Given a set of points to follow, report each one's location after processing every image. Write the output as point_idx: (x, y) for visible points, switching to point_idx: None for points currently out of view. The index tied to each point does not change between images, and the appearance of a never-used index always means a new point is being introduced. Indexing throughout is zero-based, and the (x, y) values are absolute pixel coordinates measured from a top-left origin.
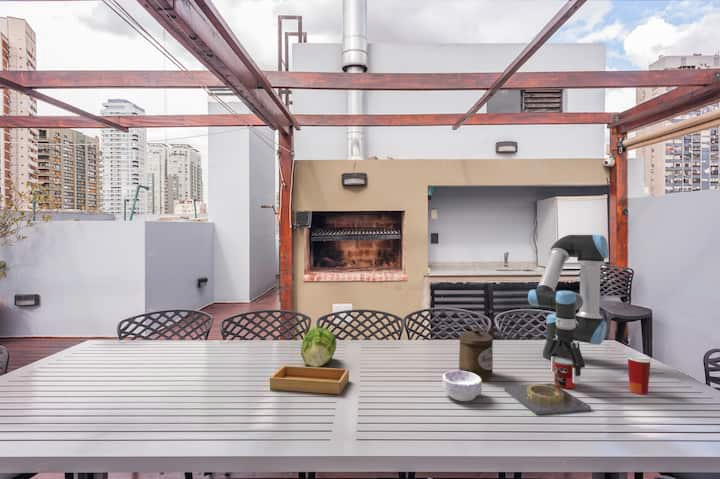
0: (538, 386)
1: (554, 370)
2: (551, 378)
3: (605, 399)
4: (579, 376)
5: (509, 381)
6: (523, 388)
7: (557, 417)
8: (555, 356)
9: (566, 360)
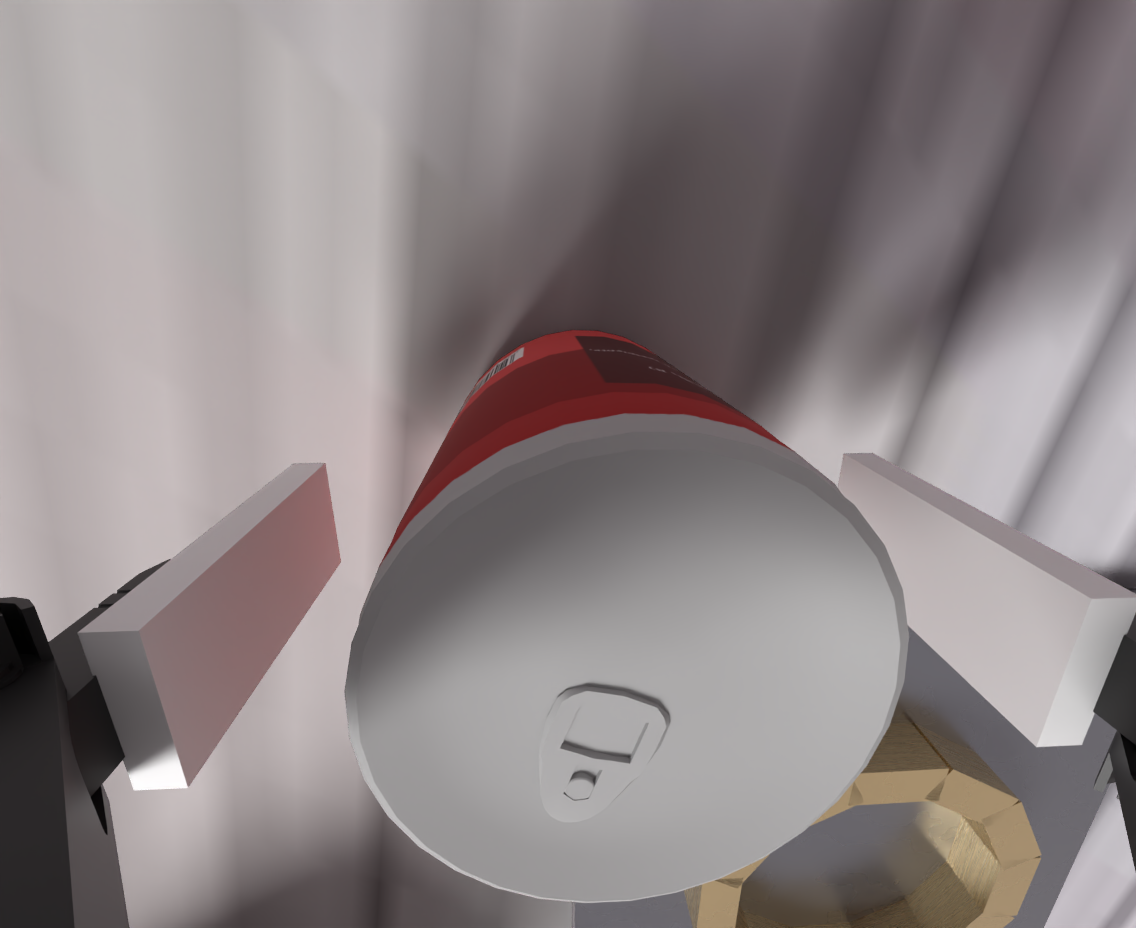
0: (736, 888)
1: (326, 529)
2: (303, 462)
3: (1058, 223)
4: (948, 502)
5: (386, 897)
6: (644, 924)
7: (1079, 863)
8: (107, 679)
9: (555, 608)
